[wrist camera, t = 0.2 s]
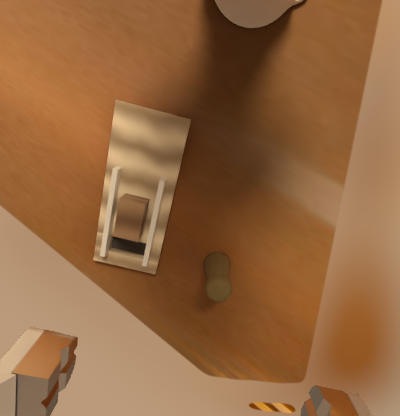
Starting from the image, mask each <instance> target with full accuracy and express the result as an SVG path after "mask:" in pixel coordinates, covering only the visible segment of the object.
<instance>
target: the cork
mask: <svg viewBox="0 0 400 416" xmlns="http://www.w3.org/2000/svg"><path fill="white" fill-rule="evenodd" d="M204 268H205V273H206V277H207V282H206V285H205V291H206V294H207V296H208V297H209V298H210V299H211V300H213V301H215V302H222V301H225V300H226V299H228V298H229V297H230V295H231V292H232V285H231V283H230V281H229V273H230V260H229V258H228V257H227V256H226V255H225V254H223V253H220V252H215V253H211V254H210V255H208V256H207V257H206V258H205V261H204Z"/></svg>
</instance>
